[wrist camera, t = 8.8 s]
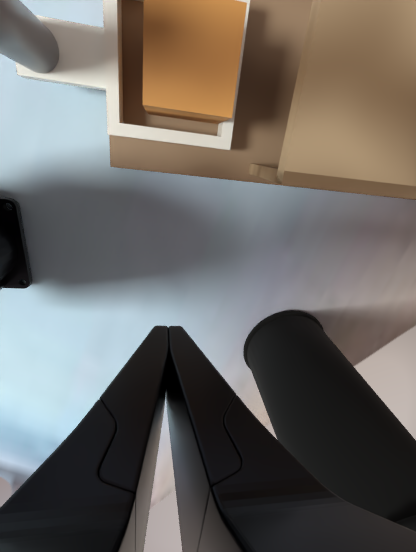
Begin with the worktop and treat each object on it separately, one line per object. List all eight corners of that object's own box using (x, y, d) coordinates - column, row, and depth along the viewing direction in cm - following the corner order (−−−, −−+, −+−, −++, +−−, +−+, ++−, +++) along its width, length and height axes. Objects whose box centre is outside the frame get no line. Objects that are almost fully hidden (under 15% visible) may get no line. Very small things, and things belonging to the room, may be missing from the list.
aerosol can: (270, 298, 24) (558, 720, 6) (338, 324, 27) (684, 683, 9) (228, 365, 27) (347, 790, 9) (293, 383, 30) (488, 746, 12)
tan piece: (433, 199, 22) (550, 223, 16) (115, 164, 18) (85, 176, 11) (497, 56, 18) (692, 3, 12) (111, -33, 14) (59, -198, 7)
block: (217, 124, 16) (231, 118, 12) (147, 114, 15) (142, 104, 12) (226, 38, 14) (247, 2, 11) (149, 22, 14) (144, -21, 10)
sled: (225, 149, 17) (300, 155, 7) (31, 125, 15) (-199, 90, 5) (243, 7, 14) (399, -273, 5) (8, -45, 12) (-535, -696, 3)
